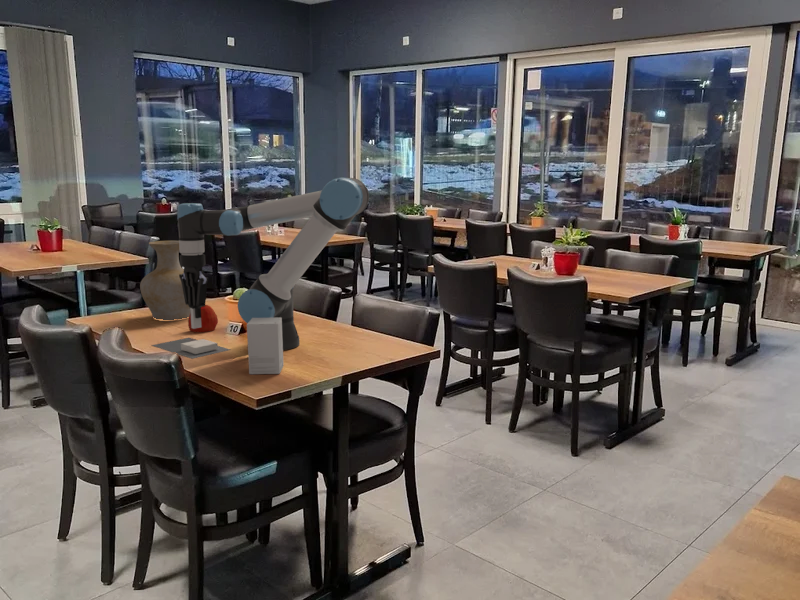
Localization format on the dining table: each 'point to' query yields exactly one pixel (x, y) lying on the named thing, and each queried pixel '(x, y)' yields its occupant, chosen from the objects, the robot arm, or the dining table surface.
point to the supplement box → (265, 345)
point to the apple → (205, 320)
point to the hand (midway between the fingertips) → (196, 327)
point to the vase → (165, 284)
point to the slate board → (176, 347)
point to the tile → (199, 346)
